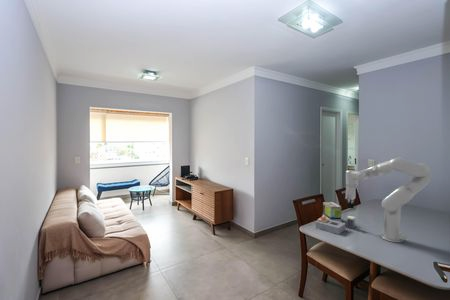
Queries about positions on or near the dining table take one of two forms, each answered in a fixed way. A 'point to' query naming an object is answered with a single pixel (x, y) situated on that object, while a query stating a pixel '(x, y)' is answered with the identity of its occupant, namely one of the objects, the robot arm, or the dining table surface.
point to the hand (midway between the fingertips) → (351, 207)
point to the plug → (350, 222)
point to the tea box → (332, 211)
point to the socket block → (331, 226)
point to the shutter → (323, 219)
